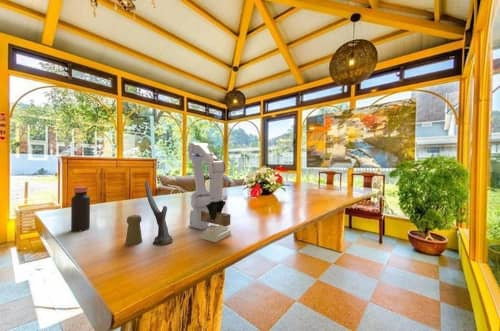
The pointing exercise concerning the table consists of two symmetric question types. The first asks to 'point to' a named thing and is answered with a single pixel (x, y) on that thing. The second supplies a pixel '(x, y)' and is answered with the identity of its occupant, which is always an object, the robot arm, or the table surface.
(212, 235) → the ridge stand
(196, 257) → the table surface
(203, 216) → the walnut beam
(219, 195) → the robot arm
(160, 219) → the antler
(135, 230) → the cork
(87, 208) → the bottle
